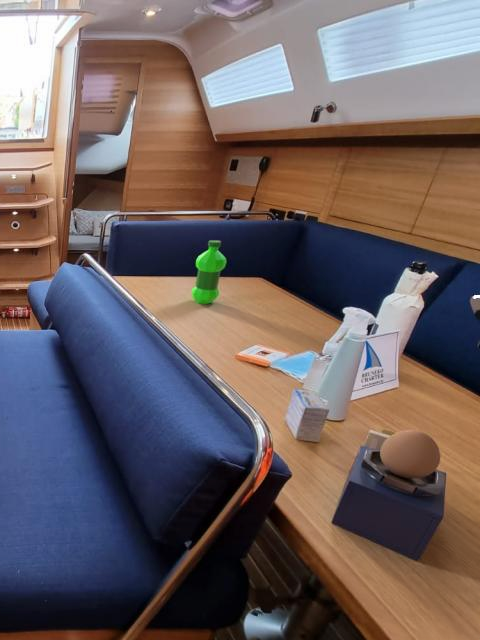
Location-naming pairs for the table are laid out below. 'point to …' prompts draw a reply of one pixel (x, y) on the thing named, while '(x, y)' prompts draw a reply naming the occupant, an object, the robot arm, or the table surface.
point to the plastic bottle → (208, 274)
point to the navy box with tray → (387, 513)
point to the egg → (410, 454)
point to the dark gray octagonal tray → (399, 484)
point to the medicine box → (306, 415)
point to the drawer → (378, 438)
